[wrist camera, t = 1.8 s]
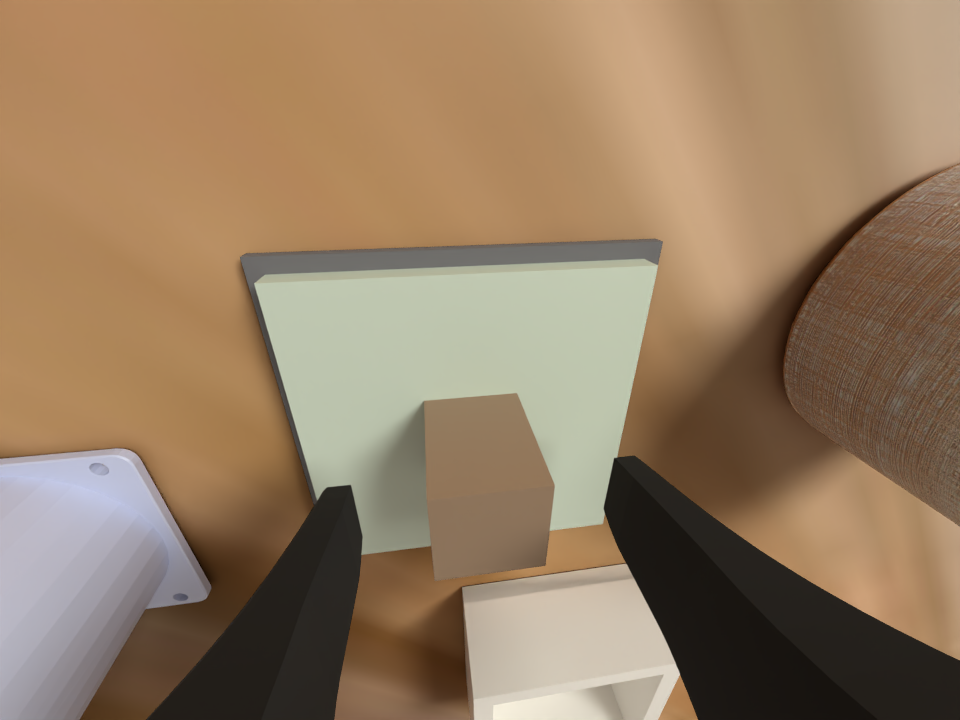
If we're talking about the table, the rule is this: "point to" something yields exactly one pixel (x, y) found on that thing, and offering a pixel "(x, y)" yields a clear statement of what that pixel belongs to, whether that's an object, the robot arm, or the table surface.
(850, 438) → the planter
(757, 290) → the table surface
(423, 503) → the lid
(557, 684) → the beige bevelled block
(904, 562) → the table surface
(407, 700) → the table surface
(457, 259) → the mat
